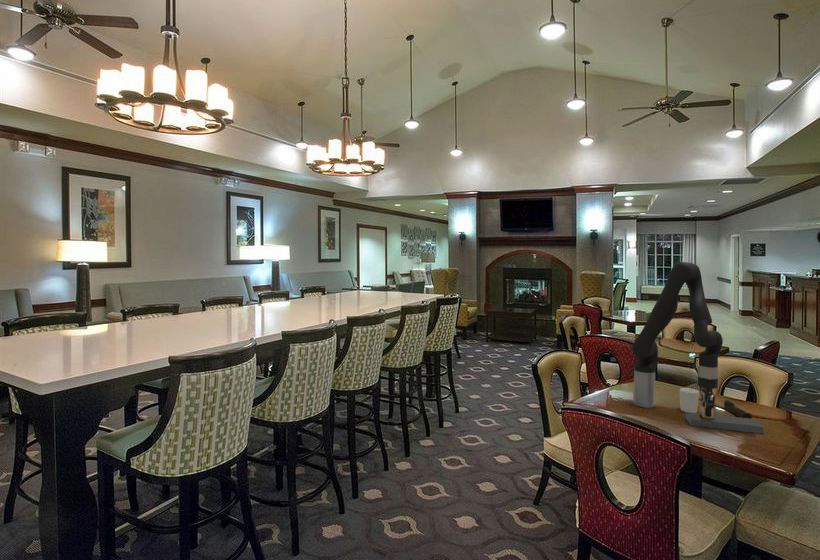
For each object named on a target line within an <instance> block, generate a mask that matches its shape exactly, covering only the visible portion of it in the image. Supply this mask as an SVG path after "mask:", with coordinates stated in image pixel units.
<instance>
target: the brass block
mask: <svg viewBox="0 0 820 560" xmlns="http://www.w3.org/2000/svg"><path fill="white" fill-rule="evenodd" d="M699 405H700V406H699V407H700V410H699V413H700V417H701V419H711V420H713V415H714V409H715V407H714V408H712V412H711V417H707V416H705V405H702V403H701V404H699Z"/></svg>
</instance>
